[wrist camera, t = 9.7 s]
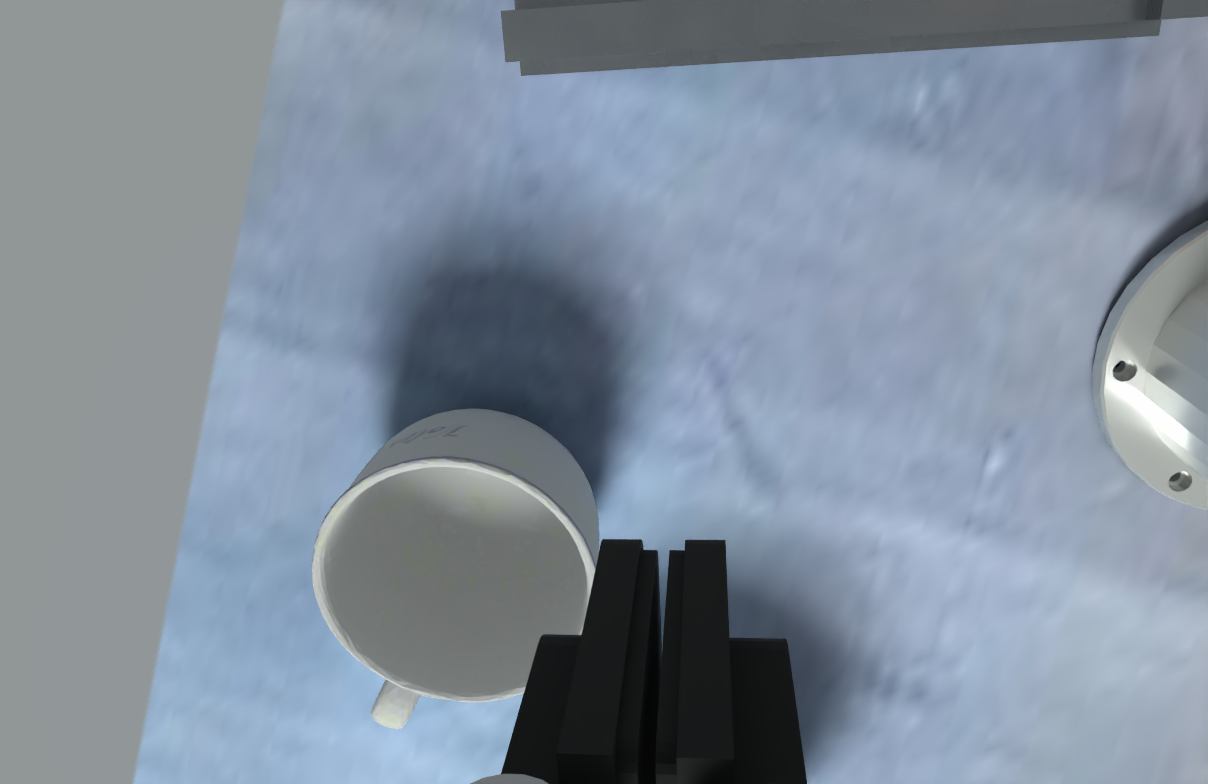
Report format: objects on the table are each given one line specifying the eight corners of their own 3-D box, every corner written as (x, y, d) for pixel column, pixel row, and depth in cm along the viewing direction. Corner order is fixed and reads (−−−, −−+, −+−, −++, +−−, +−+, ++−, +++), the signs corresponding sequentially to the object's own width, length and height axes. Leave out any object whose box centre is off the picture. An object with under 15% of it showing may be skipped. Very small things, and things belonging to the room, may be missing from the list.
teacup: (463, 334, 38) (404, 403, 30) (665, 479, 39) (655, 580, 32) (307, 551, 42) (223, 657, 35) (492, 674, 44) (449, 800, 36)
